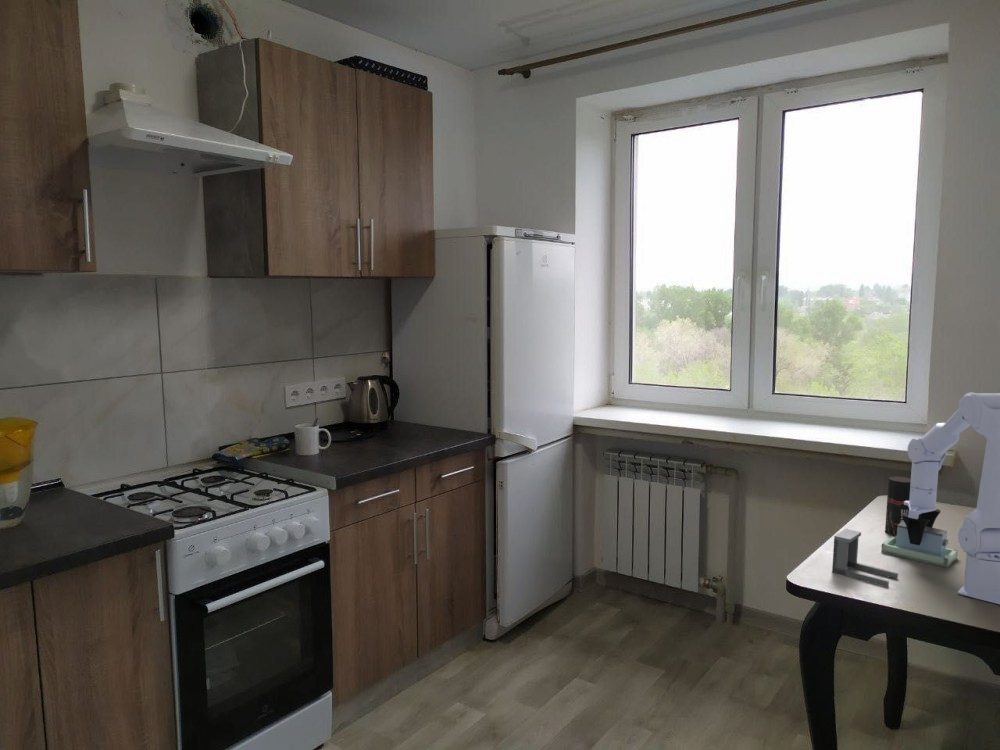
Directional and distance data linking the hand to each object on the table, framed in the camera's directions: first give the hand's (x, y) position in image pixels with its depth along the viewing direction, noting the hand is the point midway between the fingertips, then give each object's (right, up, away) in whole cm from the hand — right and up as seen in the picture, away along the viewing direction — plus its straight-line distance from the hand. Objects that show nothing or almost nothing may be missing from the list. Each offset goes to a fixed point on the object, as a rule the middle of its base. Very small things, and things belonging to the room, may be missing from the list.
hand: (919, 540), depth 180 cm
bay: (-20, -5, -12) cm, 24 cm away
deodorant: (+4, -2, +17) cm, 17 cm away
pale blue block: (0, -3, 0) cm, 3 cm away
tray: (0, -4, +1) cm, 4 cm away
